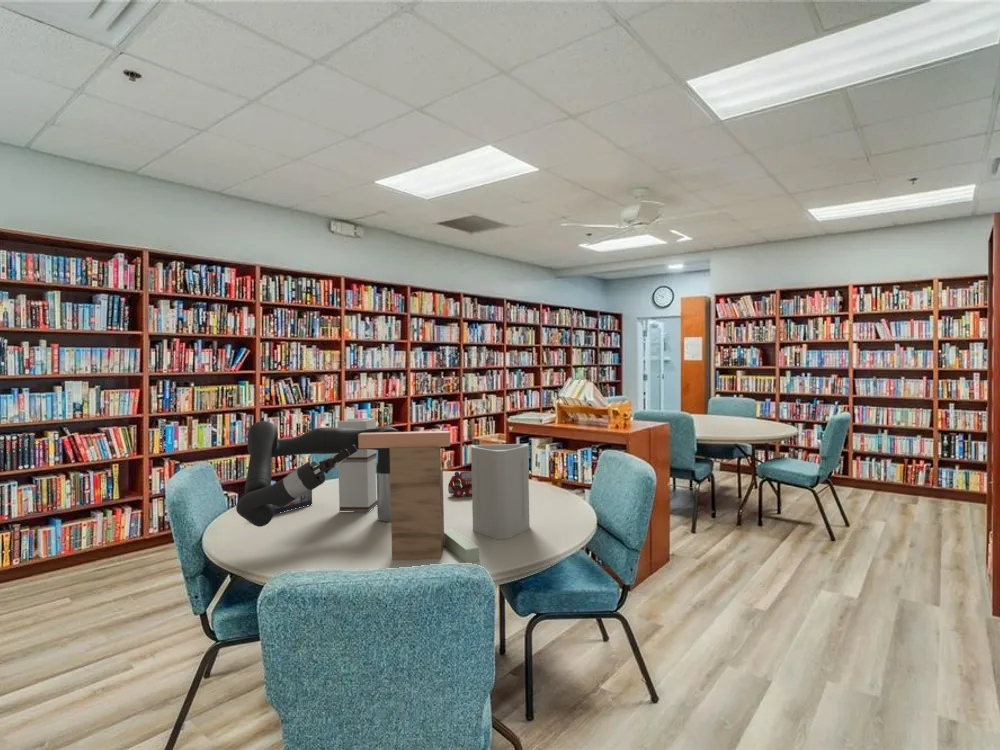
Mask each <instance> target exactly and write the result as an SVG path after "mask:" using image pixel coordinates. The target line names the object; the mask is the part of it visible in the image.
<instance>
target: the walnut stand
mask: <svg viewBox="0 0 1000 750" xmlns="http://www.w3.org/2000/svg"><path fill="white" fill-rule="evenodd" d="M441 449H442V448H441V447H402V448H390V490H391V521H390V523H391V524H390V526H391V528H390V531H391V532H390V533H391V560H393V561H394V560H395V561H399V560H402V561H403V560H404V561H405V560H431V559H432V560H435V559H437V560H438V559H442V556H443V552H444V548H445V545H444V530H445V518H444V516H445V512H444V510H445V509H444V469H443V468H444V467H442V460H441V459H442V458H441V457H442V455H441V454H442V453H441Z"/></svg>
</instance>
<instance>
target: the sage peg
mask: <svg viewBox="0 0 1000 750" xmlns="http://www.w3.org/2000/svg"><path fill="white" fill-rule="evenodd" d="M444 546H445V547H447V548H448V549H449V550H450V551H451V552H453V553H454V554H455V555H457V556H458V557H459V559H461V561H464V563H466V562H468V563H473V562H474V563H475V562H479V561H480V547H479V546H478V545H476V544H475V543H474V542H472V540H470V539H469V538H467V537H465V536H464V535H463V534H461V533H460V532H459V531H458V530H456V529H455V528H450V529H444Z"/></svg>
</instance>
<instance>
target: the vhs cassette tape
mask: <svg viewBox="0 0 1000 750" xmlns="http://www.w3.org/2000/svg"><path fill="white" fill-rule="evenodd" d="M311 504H312V505H313V490H311V491H310V492H308V493H306V494H305V495H303V496H300V497H298V498H297V499H295V500H294V501H292V502H290V503H289V504H287V505H285V506H283V507H278V506H275V505H274V506H275V511H274V514H276V513H280V512H284V511H287V510H291V509H295V508H299V507H303V506H307V505H311ZM312 505H311V506H312ZM307 507H308V506H307ZM303 508H304V507H303ZM284 513H285V512H284ZM280 514H281V513H280ZM276 515H277V514H276Z"/></svg>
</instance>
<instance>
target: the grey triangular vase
mask: <svg viewBox="0 0 1000 750" xmlns="http://www.w3.org/2000/svg"><path fill="white" fill-rule="evenodd" d="M470 449H471V452H470V454H471V456H470V457H471V461H470V462H471V471H472V496H471V497H472V498H471V503H472V505H471V506H472V507H471V508H472V510H471V511H472V531H474V532H476V533H479V534H482V535H484V536H487V537H489V538H493V539H496V540H509V539H510V538H512V537H515V536H518V535H519V534H521V533H524V532H526V531H528V530H530V491H529V490H530V488H529V487H530V484H529V483H530V482H529V481H530V480H529V478H530V476H529V445H528V443H511V444H510V443H507V444H503V443H502V444H500V443H499V444H498V443H497V444H472V445H471V446H470Z"/></svg>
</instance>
